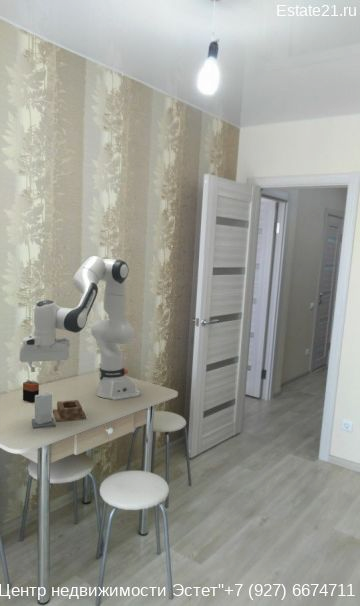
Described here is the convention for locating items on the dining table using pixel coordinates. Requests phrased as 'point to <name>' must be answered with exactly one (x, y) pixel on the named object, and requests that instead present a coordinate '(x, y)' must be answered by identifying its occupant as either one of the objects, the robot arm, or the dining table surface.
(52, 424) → the rubber mat
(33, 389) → the battery
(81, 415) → the socket block
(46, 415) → the skincare box
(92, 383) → the dining table surface
